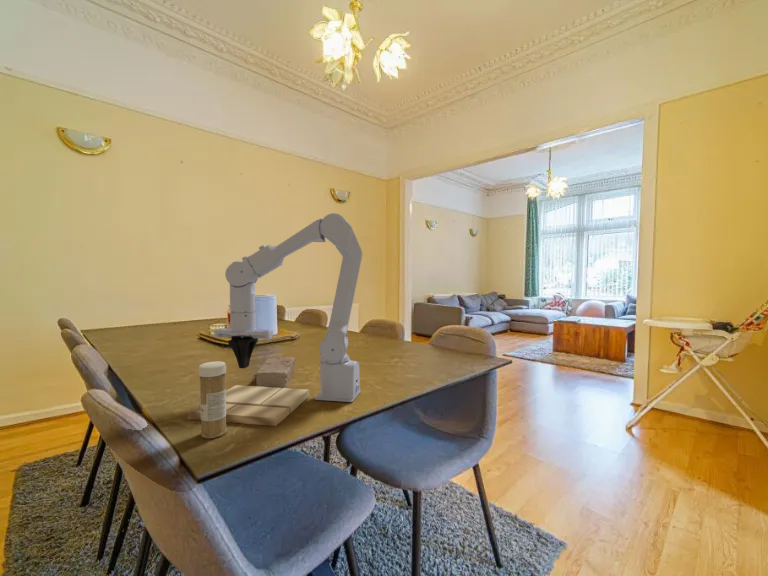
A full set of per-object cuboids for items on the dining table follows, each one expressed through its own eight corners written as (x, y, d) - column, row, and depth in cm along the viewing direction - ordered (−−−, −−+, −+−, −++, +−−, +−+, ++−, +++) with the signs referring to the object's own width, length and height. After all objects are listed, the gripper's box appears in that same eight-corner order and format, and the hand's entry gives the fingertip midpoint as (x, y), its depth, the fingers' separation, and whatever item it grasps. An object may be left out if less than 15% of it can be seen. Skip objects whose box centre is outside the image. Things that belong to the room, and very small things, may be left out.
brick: (287, 388, 93) (287, 370, 92) (255, 389, 92) (254, 372, 91) (295, 371, 109) (295, 356, 109) (267, 372, 108) (267, 357, 108)
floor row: (289, 414, 74) (289, 406, 74) (275, 426, 68) (275, 417, 68) (207, 407, 78) (207, 400, 78) (188, 418, 72) (187, 410, 72)
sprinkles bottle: (200, 431, 66) (198, 362, 66) (226, 426, 68) (224, 359, 68) (200, 442, 62) (198, 368, 62) (228, 436, 64) (226, 364, 64)
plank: (309, 396, 85) (309, 389, 84) (290, 413, 75) (290, 405, 75) (236, 391, 88) (235, 384, 88) (209, 407, 79) (208, 399, 78)
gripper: (205, 313, 81) (206, 370, 82) (261, 314, 78) (262, 373, 79) (224, 310, 88) (225, 362, 89) (276, 311, 85) (277, 365, 86)
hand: (243, 367), depth 84 cm, fingers closed
